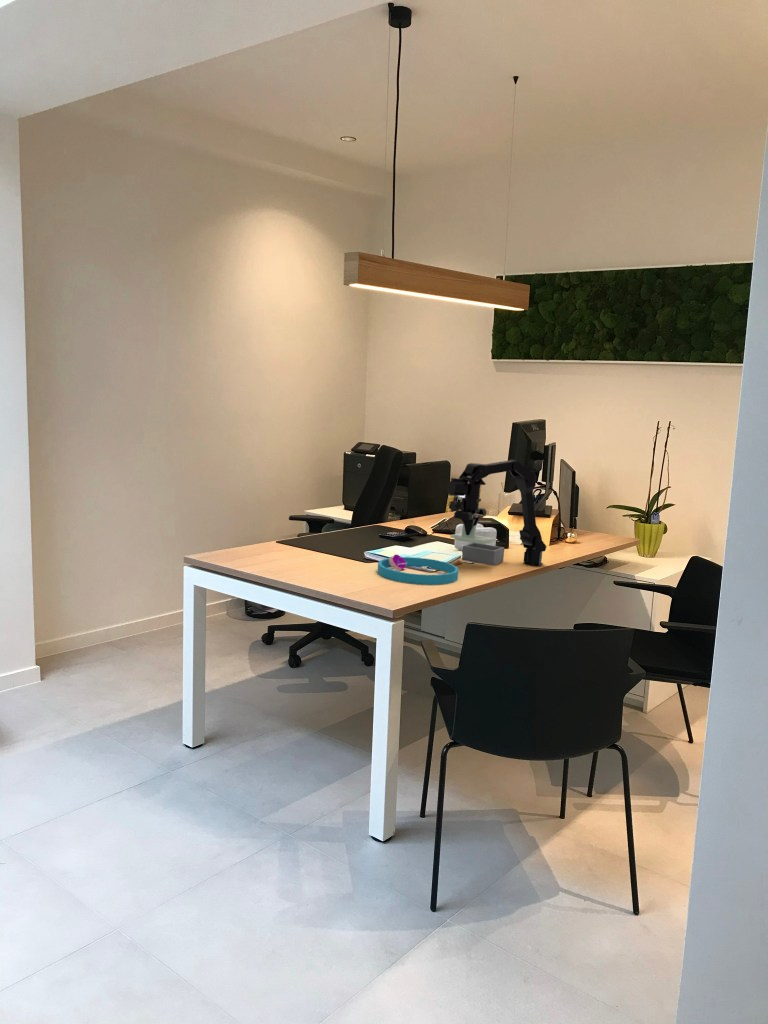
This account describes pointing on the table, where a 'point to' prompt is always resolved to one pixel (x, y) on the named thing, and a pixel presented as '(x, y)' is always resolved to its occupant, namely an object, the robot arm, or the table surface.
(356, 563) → the table surface
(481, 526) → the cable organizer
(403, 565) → the teal ring
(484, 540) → the lid
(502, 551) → the parts tub
